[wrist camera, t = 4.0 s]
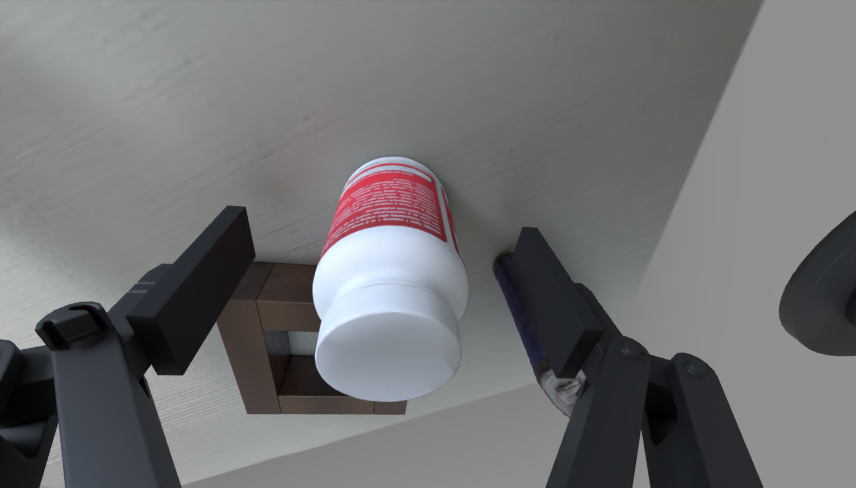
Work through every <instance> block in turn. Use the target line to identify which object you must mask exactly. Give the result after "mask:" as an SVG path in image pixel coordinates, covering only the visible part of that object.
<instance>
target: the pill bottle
mask: <svg viewBox="0 0 856 488" xmlns="http://www.w3.org/2000/svg"><path fill="white" fill-rule="evenodd" d="M468 296H469V284H468V278H467V272H466V268H465V265H464V261H463V258H462V254H461V250H460V246H459V242H458V239H457V235H456V231H455V227H454V223H453V219H452V215H451V211H450V207H449V203H448V199H447V196H446V193H445V190H444V188H443V186H442V184H441V182H440V181H439V179H438V178H437V177H436V175H435V174H434V173H433V172H432V171H431V170H429V169H428V168H427V167H425V166H424V165H422V164H420V163H418V162H416V161H414V160H411V159H408V158H404V157H383V158H379V159H375V160H373V161H370V162H368V163H366V164H364V165H363V166H361V167H360V168H359V169H357V170H356V171H355V172H354V173H353V175H352V176H351V177H350V178H349V180H348V181H347V183H346V185H345V187H344V190H343V192H342V195H341V198H340V201H339V204H338V206H337V210H336V212H335V216H334V219H333V221H332V224H331V227H330V230H329V233H328V236H327V239H326V242H325V245H324V248H323V251H322V254H321V257H320V259H319V262H318V265H317V269H316V272H315V276H314V281H313V301H314V305H315V308H316V311H317V313H318V315H319V317H320V319H321V320H322V322H321V326H320V331H319V336H318V341H317V346H316V351H315V363H316V367H317V369H318V372H319V373H320V375H321V376H322V378H323V379H324V380H325V381H326V382H327V383H328V384H329V385H330V386H332V387H333V388H334V389H336V390H338V391H340V392H342V393H344V394H347V395H349V396H352V397H355V398H359V399H363V400H369V401H379V402H395V401H403V400H409V399H414V398H418V397H421V396H424V395H427V394H429V393H431V392H433V391H435V390H437V389H439V388H440V387H442V386H443V385H445V384H446V383H447V382H448V381H450V380H451V378H452V377H453V376H454V375H455V373H456V372H457V370H458V368H459V366H460V363H461V357H462V350H461V343H460V335H459V324H458V322H459V321H460V319H461V318H462V316H463V314H464V311H465V309H466V306H467V302H468Z"/></svg>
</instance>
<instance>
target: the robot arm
mask: <svg viewBox="0 0 856 488" xmlns="http://www.w3.org/2000/svg"><path fill="white" fill-rule="evenodd" d="M255 257H256V254H255V250H254V245H253V240H252V235H251V230H250V226H249V221H248V216H247V211H246V207H241V206H226V208H225V209H224V210H223V211H222V212H221V213H220V214H219V215H218V216H217V217H216V218H215V219H214V220H213V222H212V223H211V224H210V225H209V226H208V227H207V228H206V229H205V230H204V231H203V232H202V233H201V234H200V236H199V237H198V238H197V239H196V240H195V241H194V242H193V243H192V244H191V245H190V246H189V247H188V248H187V249H186V251H185V252H184V253H183V254H182V255H181V256H180V257H179V258H178V259H177V260H176V261H175V262H174V263H173V264H161V265H159V266H157V267H156V268H154V269H152V270H150V271H149V272H147V273H146V274H145V275H144V276H143V277H142V278H141V279H140V280H139V281H138V282H137V284H135V285H134V286H133V287H132V288H131V289H130V290H129V293H126V294H125V295H124V296H123V297H122V298H121V299H120V300H119V301H118V302H117V303H116V304H115V305H114V306H113V307H112V308H111V309H110V310H109V311H108V312H107V313H106V311H105V310H104V308H103V307H102V306H101V304H99V303H96V302H78V303H74V304H69V305H67V306H64V307H61V308H59V309H56V310H54V311H53V312H51V313H50V314H48V315H46V316H45V317H44V318H43V319H42V320H40V321H39V322H38V323H37V326H36V328H35V332H36V333H37V334H38V335H39V337H40V338H41V339H42V340H43V342H44V343H45V344H46V345H45V346H39V347H34V348H29V349H23V350H19V348H18V347H17V346H16V345H15V344H14V343H13V342H11V341H10V340H1V339H0V488H39V487H40V484H41V480H42V477H43V473H44V470H45V466H46V463H47V460H48V456H49V453H50V449H51V446H52V442H53V439H54V436H55V432H56V429H57V425H58V422H59V431H60V441H61V451H62V460H63V470H64V480H65V488H181V484H180V481H179V478H178V475H177V472H176V469H175V466H174V463H173V460H172V457H171V454H170V451H169V447H168V444H167V441H166V438H165V435H164V432H163V429H162V426H161V423H160V420H159V417H158V413H157V410H156V407H155V404H154V401H153V398H152V395H151V392H150V389H149V386H148V383H147V380H146V378H145V377H144V374H145V372H146V371H147V370H148V368H149V367H150V365H151V364H152V366H153V368H154V370H155V371H156V373H157V375H184V373H185V371H186V370H187V368H188V366H189V365H190V363H191V362H192V360H193V358H194V357H195V355H196V353H197V352H198V350H199V348H200V347H201V345H202V344H203V342H204V340H205V339H206V337H207V335H208V334H209V332H210V330H211V329H212V327H213V325H214V324H215V322H216V321H217V319H218V317H219V316H220V314H221V312H222V311H223V309H224V307H225V306H226V304H227V302H228V301H229V299H230V298H231V296H232V294H233V293H234V291H235V289H236V288H237V286H238V284H239V283H240V281H241V280H242V278H243V276H244V275H245V273H246V271H247V270H248V268H249V266H250V265H251V263H252V261H253V260H254V258H255ZM508 270H509V272H510V274H511V277H512V279H513V281H514V284H515V286H516V288H517V290H518V293H519V295H520V297H521V299H522V302H523V304H524V306H525V309H526V311H527V313H528V315H529V318H530V320H531V322H532V324H533V327H534V329H535V331H536V334H537V336H538V338H539V340H540V343H541V345H542V347H543V349H544V352H545V354H546V356H547V359H548V361H549V363H550V365H551V368H552V370H553V372H554V374H555V377H556V379H575V378H576V376H577V375H578V373H579V371H580V370H581V369H582V371H583V373H584V375H585V377H586V379H585V380H584V382H583V383H582V385H581V386H580V388H579V389H578V391H577V392H576V394H575V395H576V396H578V397H577V400H576V403H575V406H574V409H573V411H572V414H571V417H570V420H569V423H568V426H567V428H566V432H565V434H564V437H563V440H562V443H561V445H560V448H559V451H558V454H557V457H556V459H555V462H554V465H553V468H552V471H551V474H550V476H549V479H548V482H547V485H546V488H632V486H633V480H634V473H635V466H636V459H637V453H638V446H639V439H640V432H641V430H642V436H643V442H644V449H645V455H646V462H647V468H648V474H649V481H650V487H651V488H763V485H762V483H761V481H760V478H759V476H758V474H757V471H756V469H755V466H754V464H753V461H752V459H751V456H750V454H749V451H748V449H747V447H746V444H745V442H744V440H743V437H742V434H741V432H740V430H739V427H738V425H737V422H736V420H735V418H734V415H733V413H732V410H731V408H730V405H729V403H728V401H727V398H726V396H725V393H724V391H723V388H722V386H721V384H720V381H719V379H718V376H717V375H716V373H715V372H714V370H713V369H712V368H711V367H710V366H709V365H708V364H707V363H705V362H704V361H702V360H701V359H699V358H698V357H695V356H693V355H691V354H687V353H677V354H676V355H675V356H674V357H673V358H672V359H671V360H667V359H664V358H660V357H656V356H653V355H650V354H649V353H648V351H647V350H646V349H645V348H644V347H643V346H642V345H641V344H640V343H638V342H637V341H635V340H633V339H631V338H629V337H626V336H623V335H622V334H621V333H620V331H619V330H618V328H617V327H616V326H615V324H614V323H613V321H612V320H611V319H610V317H609V316H608V314H607V313H606V311H605V310H603V307H602V306H601V304H600V303H598V300H597V299H596V297H595V296H594V295H593V293H592V292H591V291H590V290H589V289H588V288H586V287H585V286H584V285H583V284H581V283H573V281H572V280H571V278H570V277H569V275H568V274H567V272H566V271H565V269H564V268H563V266H562V265H561V263H560V262H559V260H558V259H557V257H556V256H555V254H554V253H553V251H552V250H551V248H550V247H549V245H548V244H547V242H546V241H545V239H544V238H543V236H542V235H541V233H540V232H539V230H538V229H537V228H532V227H522V230H521V233H520V236H519V239H518V242H517V245H516V248H515V251H514V254H513V257H512V260H511V263H510V266H509V269H508ZM846 316H847V319H848V320H849V322H850V323H851V324H852V325H853V326H855V327H856V288H855V289H854V291H853V293H852V294H851V296H850V298H849V301H848V304H847V307H846Z"/></svg>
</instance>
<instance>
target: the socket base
mask: <svg viewBox="0 0 856 488" xmlns="http://www.w3.org/2000/svg"><path fill="white" fill-rule="evenodd" d="M316 269H317V266H313V265H296V264H278V263H276V264H275V263H262V262H252V263H251V265H250V266H249V268H248V270H247V271H246V273H245V275H244V276H243V278H242V280H241V281H240V283H239V284H238V286H237V288H236V289H235V291H234V293H233V294H232V296H231V298H230V299H229V301H228V302H227V304H226V306H225V307H224V309H223V311H222V312H221V314H220V316H219V317H218V319H217V321H216V322H217V325H218V328H219V331H220V334H221V337H222V340H223V343H224V346H225V349H226V352H227V355H228V358H229V361H230V364H231V367H232V370H233V373H234V376H235V379H236V382H237V385H238V387H239V390H240V393H241V396H242V399H243V402H244V405H245V408H246V411H247V414H386V415H404V414H405V412H406V405H407V400H403V401H395V402H379V401H369V400H363V399H359V398H355V397H352V396H349V395H347V394H344V393H342V392H340V391H338V390H336V389H334V388H333V387H332V386H330V385H329V384H328V383H327V382H326V381H325V380H324V379H323V378H322V376H321V375H320V373H319V372H318V369H317V367H316V363H315V356H291V355H290V349H289V343H288V337H287V331H309V332H319V331H320V326H321V322H322V320H321V319H320V317H319V315H318V313H317V311H316V308H315V305H314V301H313V281H314V276H315V272H316Z"/></svg>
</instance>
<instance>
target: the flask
mask: <svg viewBox="0 0 856 488" xmlns="http://www.w3.org/2000/svg"><path fill="white" fill-rule="evenodd" d="M513 254H514V251H512V252H510V251H508V250H507V251H506V252H505V253H503V254H501V255H500V256H498V257H497V258H496V259H495V261H494V262H493V271H494V274H495V277H496V279H497V280H498V282H499V285H500V287H501V289H502V291H503V294H504V296H505V298H506V301H507V304H508V307H509V309H510V311H511V313H512V316H513V319H514V321H515V324H516V327H517V329H518V331H519V334H520V336H521V339H522V341H523V344H524V347H525V349H526V351H527V354H528V357H529V359H530V363H531V365H532V368H533V371H534V374H535V376H536V379H537V382H538V383H539V385H540V386H541V388H542V389H543V390H544V392H545V394H546V395H547V396H548V397H549V399H550V400H551V401H552V403H553V404H554V405H555V406H556V407H557V408H558V409H559V410H560V411H561V412H563V414H564V415H566V416H568V417H569V418H570V417H571V414H572V411H573V409H574V406H575V403H576V400H577V397H578V396H576V395H575V394H576V392H577V391H578V389H579V388H580V386H581V385H582V383H583V382H584V380H585V379H586V377H585V375H584V373H583V371H582V369H581V370H580V371H579V373H578V375H577V376H576V378H575V379H556V377H555V374H554V372H553V370H552V368H551V365H550V363H549V361H548V359H547V356H546V354H545V352H544V349H543V347H542V345H541V343H540V340H539V338H538V336H537V334H536V331H535V329H534V327H533V324H532V322H531V320H530V318H529V315H528V313H527V311H526V309H525V306H524V304H523V302H522V299H521V297H520V295H519V293H518V290H517V288H516V286H515V284H514V281H513V279H512V277H511V274H510V272H509V270H508V269H509V266H510V263H511V260H512V257H513Z"/></svg>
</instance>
